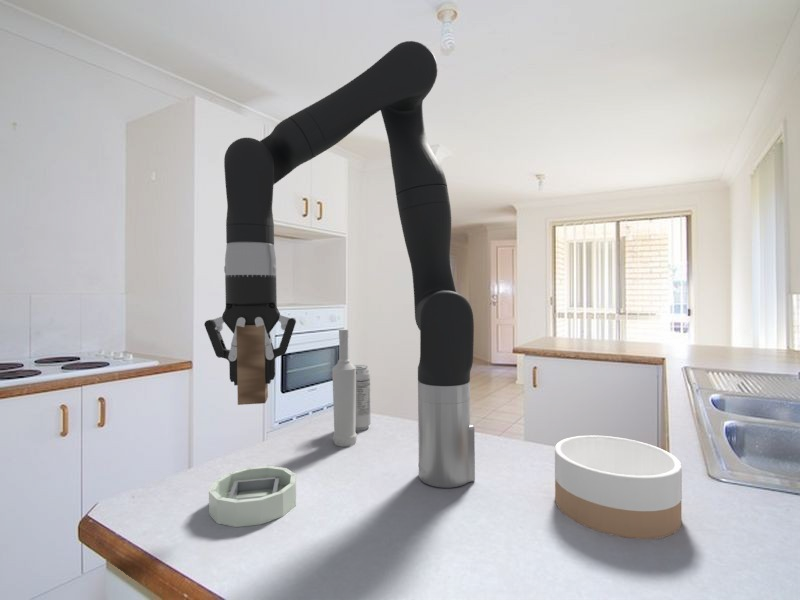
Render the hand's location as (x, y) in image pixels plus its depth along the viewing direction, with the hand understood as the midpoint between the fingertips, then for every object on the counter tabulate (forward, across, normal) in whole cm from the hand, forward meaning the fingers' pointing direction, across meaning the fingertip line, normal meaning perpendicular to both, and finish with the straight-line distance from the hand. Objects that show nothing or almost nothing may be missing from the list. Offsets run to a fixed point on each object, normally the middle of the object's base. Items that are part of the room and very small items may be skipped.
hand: (252, 383), depth 68 cm
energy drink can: (+19, -20, -35) cm, 45 cm away
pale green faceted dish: (+19, 0, 0) cm, 19 cm away
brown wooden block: (+3, 0, 0) cm, 3 cm away
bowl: (+19, -54, +13) cm, 59 cm away
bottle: (+19, -16, -25) cm, 35 cm away
